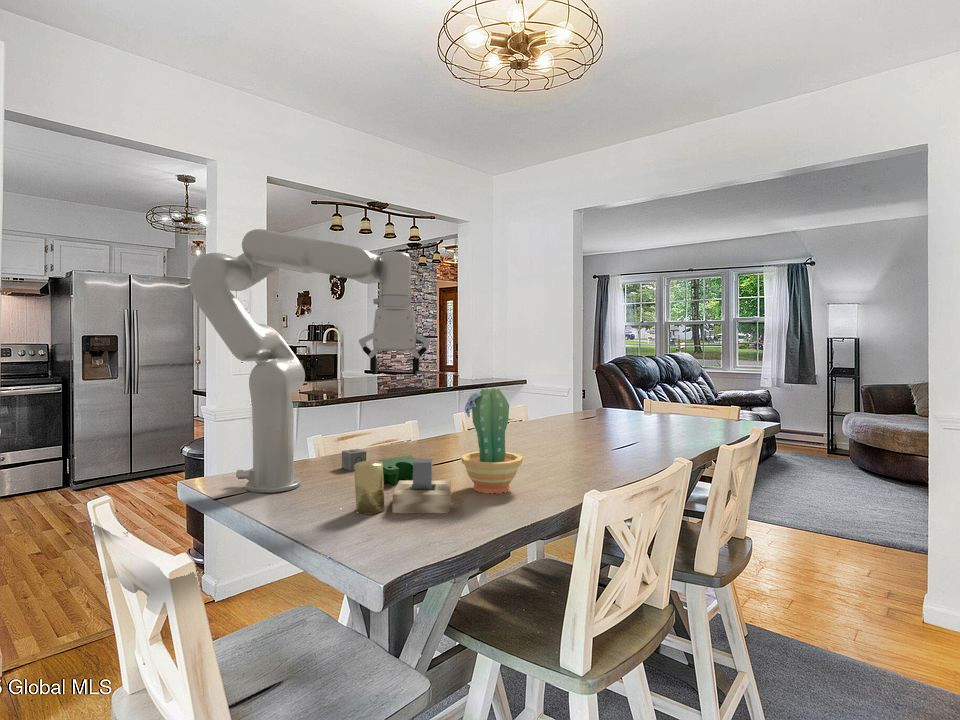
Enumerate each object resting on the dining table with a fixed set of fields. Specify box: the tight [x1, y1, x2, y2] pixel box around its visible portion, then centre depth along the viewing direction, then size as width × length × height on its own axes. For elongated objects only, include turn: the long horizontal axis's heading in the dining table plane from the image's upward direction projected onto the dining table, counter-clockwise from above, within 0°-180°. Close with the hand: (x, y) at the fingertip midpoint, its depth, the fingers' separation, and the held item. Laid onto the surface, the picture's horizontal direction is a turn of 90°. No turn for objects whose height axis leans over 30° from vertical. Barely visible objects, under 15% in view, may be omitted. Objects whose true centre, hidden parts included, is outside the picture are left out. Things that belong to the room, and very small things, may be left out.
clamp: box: [376, 454, 417, 486], centre depth 149 cm, size 12×6×9 cm, turn 126°
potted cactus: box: [460, 387, 524, 495], centre depth 142 cm, size 15×15×25 cm
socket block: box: [392, 479, 452, 514], centre depth 128 cm, size 12×12×4 cm
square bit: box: [413, 458, 433, 490], centre depth 128 cm, size 4×4×10 cm
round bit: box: [354, 460, 386, 515], centre depth 124 cm, size 6×6×10 cm
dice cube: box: [341, 448, 367, 472], centre depth 163 cm, size 5×5×5 cm
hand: (394, 374), depth 140 cm, fingers open, 9 cm apart
